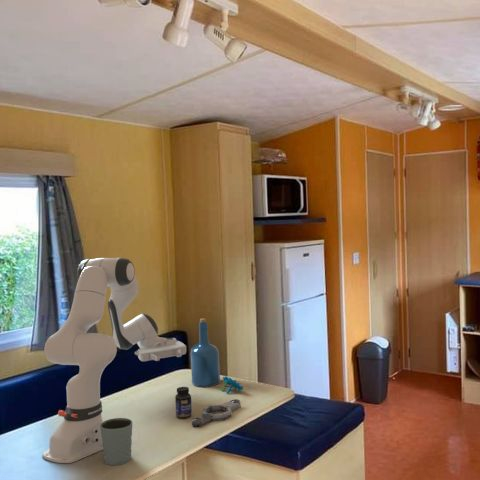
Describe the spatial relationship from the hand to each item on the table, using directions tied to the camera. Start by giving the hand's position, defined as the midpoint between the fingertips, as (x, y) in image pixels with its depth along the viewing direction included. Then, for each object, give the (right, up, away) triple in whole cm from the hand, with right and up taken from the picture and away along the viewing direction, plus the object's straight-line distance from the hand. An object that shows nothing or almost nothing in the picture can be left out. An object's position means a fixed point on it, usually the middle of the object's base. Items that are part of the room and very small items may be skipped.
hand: (169, 357), depth 227 cm
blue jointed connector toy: (+25, -19, +18) cm, 37 cm away
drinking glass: (-11, -24, -45) cm, 52 cm away
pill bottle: (+7, -21, -9) cm, 24 cm away
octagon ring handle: (+20, -21, -11) cm, 31 cm away
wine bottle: (+13, -19, +32) cm, 40 cm away
